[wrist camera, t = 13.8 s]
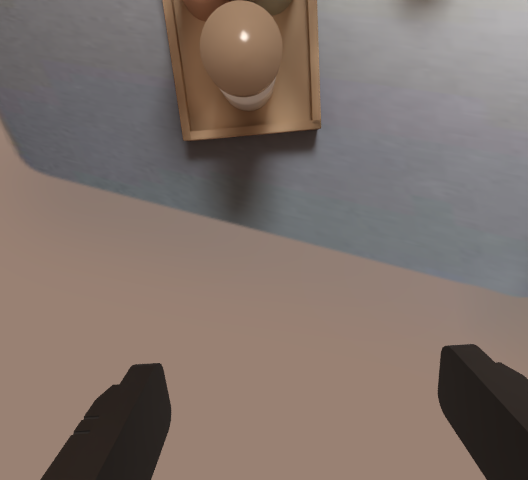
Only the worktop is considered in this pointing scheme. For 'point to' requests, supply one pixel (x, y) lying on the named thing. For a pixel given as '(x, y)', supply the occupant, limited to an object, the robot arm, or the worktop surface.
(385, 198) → the worktop surface
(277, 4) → the sage jar
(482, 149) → the worktop surface
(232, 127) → the tray
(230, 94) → the white jar
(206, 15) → the terracotta jar
